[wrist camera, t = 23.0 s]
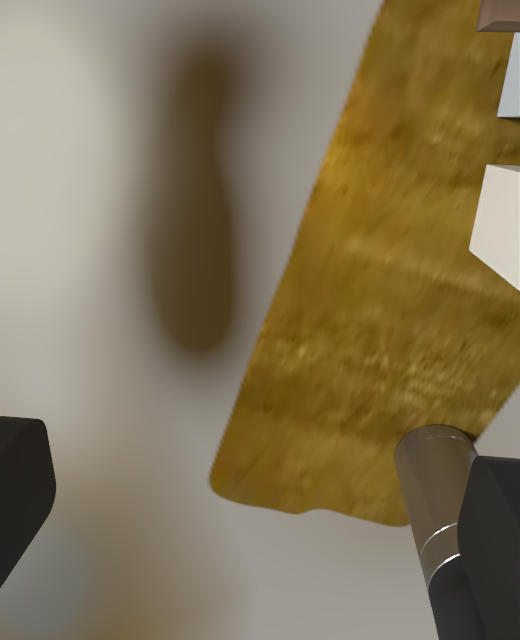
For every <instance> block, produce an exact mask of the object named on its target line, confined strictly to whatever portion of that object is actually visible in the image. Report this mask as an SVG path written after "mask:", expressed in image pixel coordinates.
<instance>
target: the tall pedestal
mask: <svg viewBox="0 0 520 640" xmlns="http://www.w3.org/2000/svg"><path fill="white" fill-rule="evenodd" d="M469 251H471V252H472V253H473V254H474V255H476V256H477V257H478V258H479V259H481V260H482V261H483V262H484V263H486V264H487V265H488V266H489V267H491V268H492V269H493V270H494V271H496V272H497V273H498V274H499V275H501V276H502V277H503V278H504V279H506V280H507V281H508V282H509V283H511V284H512V285H513V286H514V287H516V288H517V289H518V290H519V291H520V166H512V165H488V164H487V166H486V171H485V176H484V181H483V185H482V190H481V195H480V199H479V204H478V209H477V214H476V218H475V223H474V228H473V233H472V237H471V242H470V247H469Z"/></svg>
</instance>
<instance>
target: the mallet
mask: <svg viewBox="0 0 520 640" xmlns="http://www.w3.org/2000/svg"><path fill="white" fill-rule="evenodd" d="M476 32H519V33H520V0H481V4H480V10H479V15H478V21H477V26H476Z"/></svg>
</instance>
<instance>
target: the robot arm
mask: <svg viewBox="0 0 520 640" xmlns="http://www.w3.org/2000/svg"><path fill="white" fill-rule="evenodd" d="M394 458H395V466H396V470H397V474H398V477H399V481H400V485H401V490H402V494H403V497H404V501H405V505H406V509H407V513H408V517H409V521H410V525H411V528H412V533H413V536H414V540H415V544H416V548H417V552H418V556H419V560H420V563H421V567H422V571H423V575H424V579H425V582H426V587H427V590H428V594H429V599H430V603H431V607H432V610H433V615H434V619H435V623H436V628H437V633H438V637H439V640H520V459H516V458H503V457H491V456H479V455H478V453H477V451H476V449H475V447H474V445H473V444H472V442H471V440H470V439H469V438H468V437H467V436H466V435H465V434H464V433H463V432H461V431H459V430H458V429H455V428H453V427H450V426H444V425H431V426H425V427H422V428H419V429H416V430H414V431H413V432H411V433H409V434H408V435H407V436H406V437H404V438H403V439H402V441H401V442H400V443H399V445H398V447H397V449H396V451H395V457H394ZM55 493H56V480H55V474H54V468H53V463H52V457H51V452H50V446H49V440H48V435H47V429H46V427H45V424H44V422H43V421H42V420H40V419H32V418H20V417H6V416H0V588H1V586H2V585H3V583H4V582H5V580H6V579H7V577H8V576H9V574H10V573H11V571H12V570H13V568H14V567H15V565H16V564H17V562H18V561H19V559H20V558H21V556H22V555H23V553H24V552H25V550H26V549H27V547H28V546H29V544H30V543H31V541H32V540H33V538H34V537H35V535H36V534H37V532H38V531H39V529H40V528H41V526H42V525H43V523H44V522H45V520H46V518H47V517H48V515H49V513H50V511H51V509H52V506H53V503H54V499H55Z"/></svg>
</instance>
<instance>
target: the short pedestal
mask: <svg viewBox="0 0 520 640" xmlns="http://www.w3.org/2000/svg"><path fill="white" fill-rule="evenodd" d="M497 117H517V118H520V33H519V32H515V34H514V39H513V44H512V48H511V53H510V58H509V62H508V67H507V72H506V77H505V81H504V86H503V91H502V96H501V100H500V105H499V110H498V114H497Z"/></svg>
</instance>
